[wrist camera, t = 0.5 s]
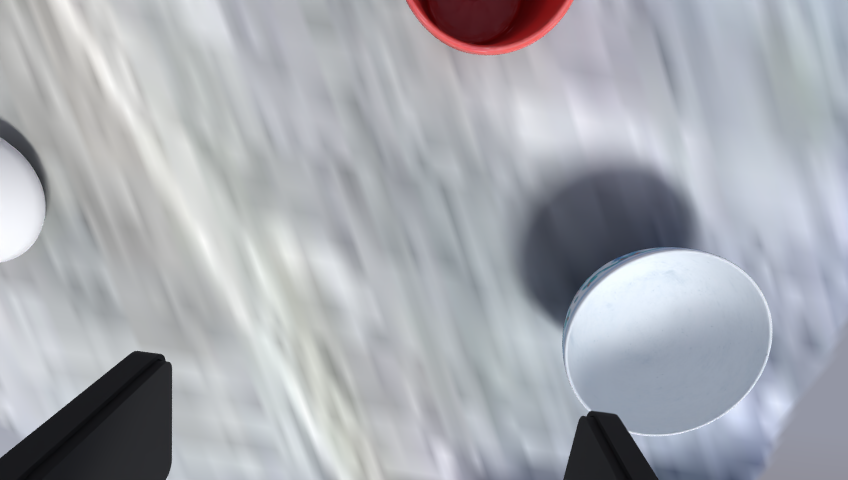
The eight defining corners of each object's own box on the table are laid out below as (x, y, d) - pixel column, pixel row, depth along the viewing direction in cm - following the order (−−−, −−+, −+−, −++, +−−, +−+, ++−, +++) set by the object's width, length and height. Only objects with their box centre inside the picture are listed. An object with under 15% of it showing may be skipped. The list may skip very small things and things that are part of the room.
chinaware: (744, 312, 42) (812, 354, 34) (608, 411, 45) (644, 470, 37) (644, 188, 39) (695, 205, 32) (506, 301, 42) (523, 342, 34)
